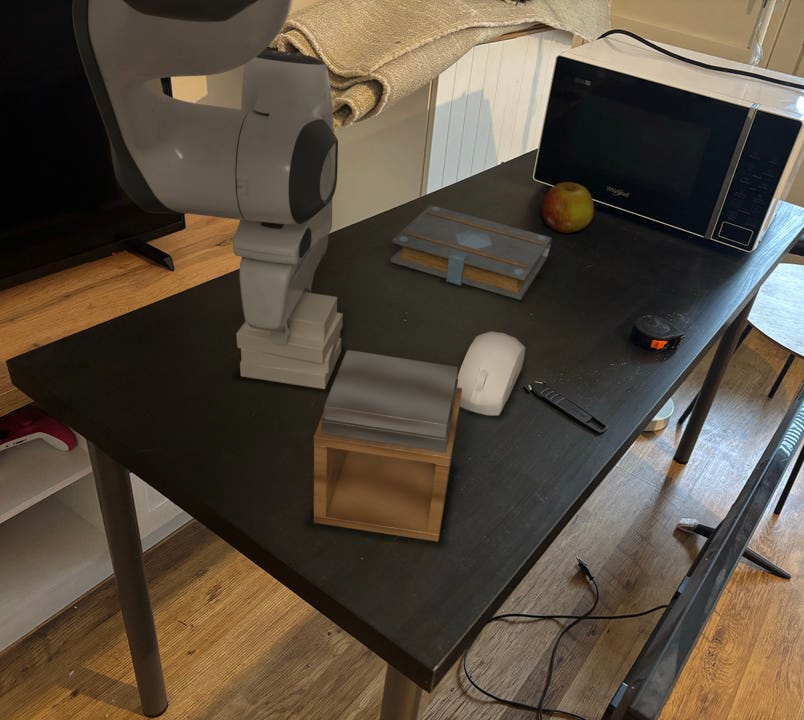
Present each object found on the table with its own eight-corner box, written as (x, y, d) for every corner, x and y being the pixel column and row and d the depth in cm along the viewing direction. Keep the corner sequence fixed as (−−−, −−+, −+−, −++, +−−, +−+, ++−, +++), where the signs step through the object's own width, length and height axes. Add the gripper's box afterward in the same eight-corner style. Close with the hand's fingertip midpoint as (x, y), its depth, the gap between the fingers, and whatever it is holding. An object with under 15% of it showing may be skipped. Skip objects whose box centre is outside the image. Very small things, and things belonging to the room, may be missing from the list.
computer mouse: (447, 406, 87) (453, 363, 83) (479, 349, 97) (485, 309, 94) (499, 422, 86) (507, 379, 82) (526, 362, 96) (534, 322, 92)
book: (548, 258, 121) (553, 230, 118) (519, 303, 108) (525, 274, 105) (430, 225, 125) (433, 198, 122) (389, 265, 112) (391, 235, 109)
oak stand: (438, 541, 70) (454, 431, 62) (313, 522, 70) (313, 410, 62) (450, 469, 78) (465, 363, 70) (338, 452, 78) (341, 344, 70)
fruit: (538, 213, 135) (546, 172, 131) (587, 220, 136) (596, 179, 131) (538, 236, 128) (547, 193, 123) (590, 244, 128) (600, 201, 123)
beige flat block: (324, 342, 84) (324, 323, 82) (245, 329, 84) (244, 311, 82) (336, 314, 89) (337, 296, 87) (262, 303, 89) (262, 285, 87)
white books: (326, 392, 86) (326, 350, 83) (237, 378, 86) (233, 335, 82) (344, 349, 93) (345, 309, 90) (261, 336, 93) (259, 295, 90)
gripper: (289, 170, 86) (291, 273, 94) (225, 248, 70) (234, 365, 78) (342, 178, 87) (339, 281, 94) (291, 258, 70) (293, 374, 78)
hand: (291, 320), depth 86 cm, fingers open, 7 cm apart
